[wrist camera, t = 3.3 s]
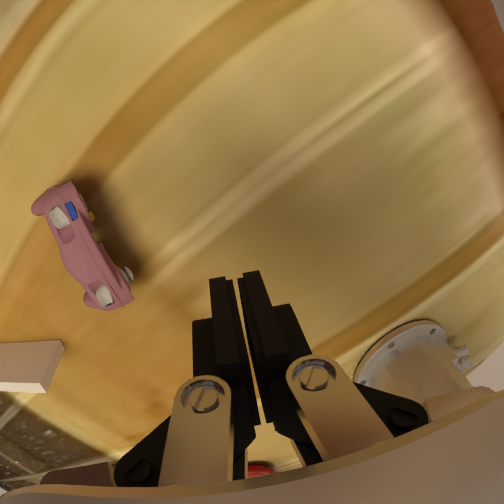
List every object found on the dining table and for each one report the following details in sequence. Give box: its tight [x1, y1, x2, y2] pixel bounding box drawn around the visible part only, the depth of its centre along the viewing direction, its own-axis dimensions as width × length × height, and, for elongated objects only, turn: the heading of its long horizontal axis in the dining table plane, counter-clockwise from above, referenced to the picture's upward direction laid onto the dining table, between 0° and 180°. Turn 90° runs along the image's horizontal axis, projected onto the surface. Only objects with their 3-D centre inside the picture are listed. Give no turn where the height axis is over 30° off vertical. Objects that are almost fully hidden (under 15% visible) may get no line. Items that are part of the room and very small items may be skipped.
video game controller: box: [31, 181, 134, 311], centre depth 20 cm, size 10×5×7 cm, turn 20°
